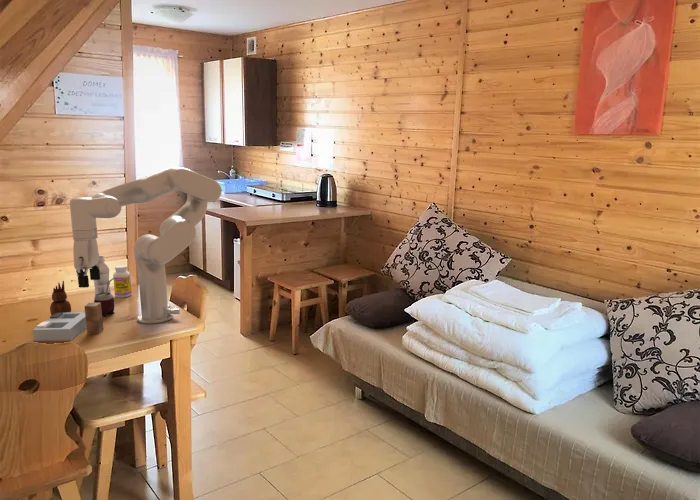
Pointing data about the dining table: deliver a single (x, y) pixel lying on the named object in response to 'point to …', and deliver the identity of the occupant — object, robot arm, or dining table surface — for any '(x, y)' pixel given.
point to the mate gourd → (105, 301)
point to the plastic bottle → (102, 278)
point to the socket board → (60, 327)
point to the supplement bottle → (122, 281)
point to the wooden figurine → (59, 300)
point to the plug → (93, 318)
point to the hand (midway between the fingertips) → (89, 283)
